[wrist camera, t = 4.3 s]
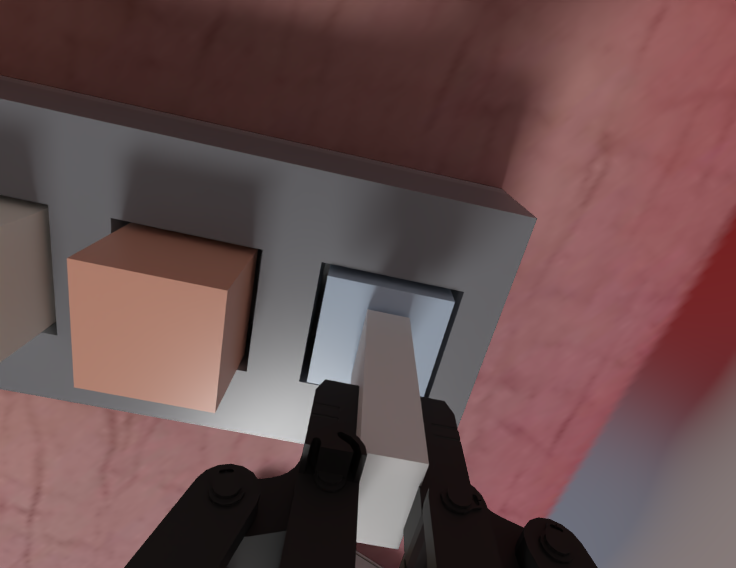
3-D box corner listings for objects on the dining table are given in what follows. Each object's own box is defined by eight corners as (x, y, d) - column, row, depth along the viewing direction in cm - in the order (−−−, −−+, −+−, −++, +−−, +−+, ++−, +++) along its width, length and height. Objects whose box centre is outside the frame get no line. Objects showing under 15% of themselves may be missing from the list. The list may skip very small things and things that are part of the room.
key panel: (-18, 314, 21) (-112, 368, 17) (-54, 63, 17) (-191, 55, 13) (430, 400, 23) (441, 468, 19) (501, 189, 19) (537, 218, 14)
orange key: (130, 331, 17) (73, 387, 14) (130, 222, 16) (66, 258, 12) (244, 353, 18) (214, 413, 14) (257, 249, 16) (227, 290, 13)
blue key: (318, 334, 20) (306, 382, 17) (336, 242, 18) (327, 275, 15) (414, 353, 20) (421, 403, 17) (441, 264, 19) (454, 302, 15)
